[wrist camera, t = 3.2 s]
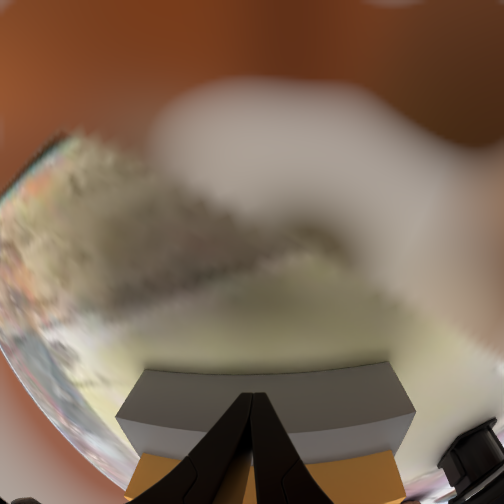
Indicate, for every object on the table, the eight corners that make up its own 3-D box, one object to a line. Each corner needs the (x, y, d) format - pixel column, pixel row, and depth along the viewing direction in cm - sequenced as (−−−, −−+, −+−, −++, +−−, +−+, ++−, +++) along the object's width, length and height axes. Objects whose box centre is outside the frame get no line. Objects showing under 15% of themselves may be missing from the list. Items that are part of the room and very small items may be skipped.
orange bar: (391, 449, 10) (406, 496, 7) (376, 476, 11) (386, 516, 8) (142, 452, 11) (123, 495, 8) (160, 478, 12) (147, 516, 9)
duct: (388, 361, 14) (416, 411, 9) (338, 500, 19) (342, 529, 15) (144, 369, 15) (114, 416, 11) (208, 503, 20) (202, 531, 16)
